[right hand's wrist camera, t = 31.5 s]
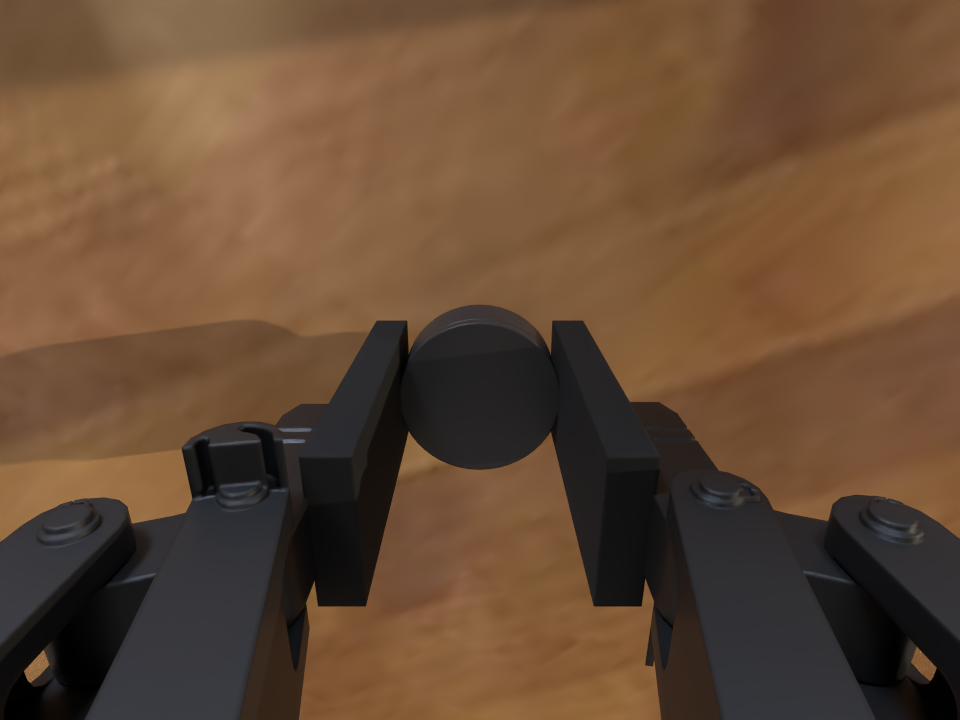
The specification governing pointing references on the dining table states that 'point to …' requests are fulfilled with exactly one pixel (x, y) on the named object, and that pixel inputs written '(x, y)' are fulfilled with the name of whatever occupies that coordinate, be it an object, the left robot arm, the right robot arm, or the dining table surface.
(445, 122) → the dining table surface
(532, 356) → the cap
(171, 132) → the dining table surface
